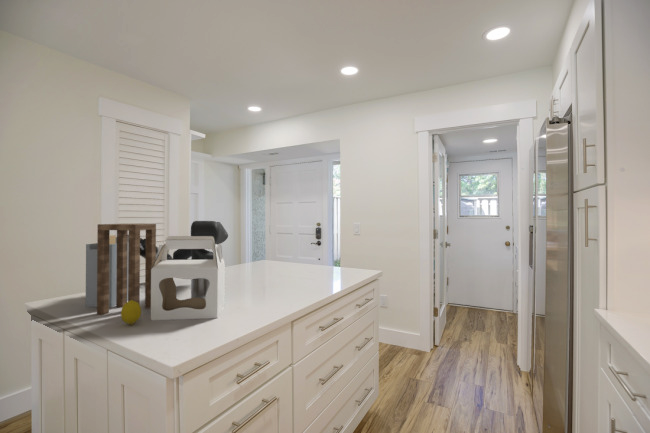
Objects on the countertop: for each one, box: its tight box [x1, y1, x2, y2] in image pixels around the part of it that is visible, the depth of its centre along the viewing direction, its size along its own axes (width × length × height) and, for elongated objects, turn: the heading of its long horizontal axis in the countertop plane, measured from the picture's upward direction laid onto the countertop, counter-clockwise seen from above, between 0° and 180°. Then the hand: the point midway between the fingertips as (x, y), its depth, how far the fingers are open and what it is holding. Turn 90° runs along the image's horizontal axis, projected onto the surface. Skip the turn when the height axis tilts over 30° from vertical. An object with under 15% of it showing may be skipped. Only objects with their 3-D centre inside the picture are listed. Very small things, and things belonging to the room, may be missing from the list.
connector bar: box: [109, 234, 129, 244], centre depth 133 cm, size 4×20×4 cm, turn 177°
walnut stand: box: [96, 223, 157, 316], centre depth 117 cm, size 14×12×32 cm
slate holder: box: [85, 242, 129, 308], centre depth 127 cm, size 10×14×24 cm
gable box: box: [150, 235, 226, 321], centre depth 113 cm, size 22×13×28 cm, turn 97°
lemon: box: [120, 300, 142, 326], centre depth 101 cm, size 6×6×8 cm
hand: (129, 236), depth 138 cm, fingers closed on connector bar, 3 cm apart
